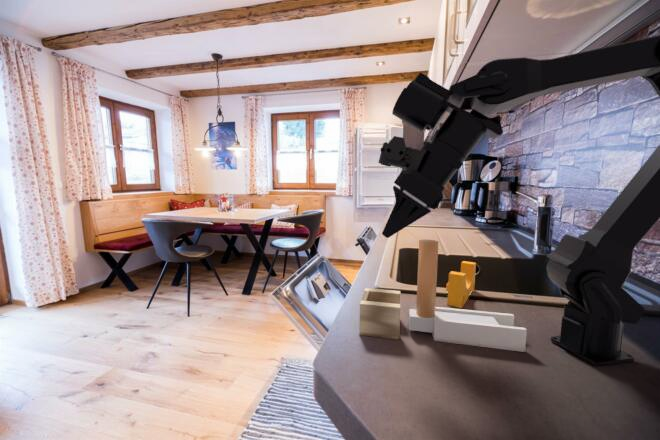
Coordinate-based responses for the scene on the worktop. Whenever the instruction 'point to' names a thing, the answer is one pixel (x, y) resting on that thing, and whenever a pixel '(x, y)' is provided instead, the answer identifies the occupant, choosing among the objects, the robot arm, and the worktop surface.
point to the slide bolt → (433, 293)
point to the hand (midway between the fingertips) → (388, 231)
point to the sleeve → (480, 331)
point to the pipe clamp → (461, 284)
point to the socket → (380, 313)
